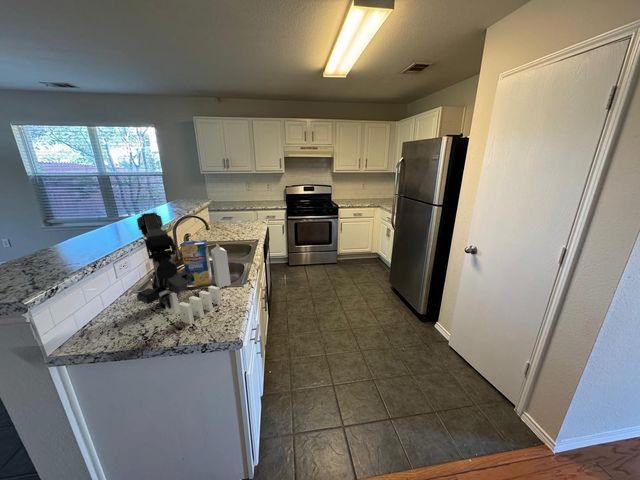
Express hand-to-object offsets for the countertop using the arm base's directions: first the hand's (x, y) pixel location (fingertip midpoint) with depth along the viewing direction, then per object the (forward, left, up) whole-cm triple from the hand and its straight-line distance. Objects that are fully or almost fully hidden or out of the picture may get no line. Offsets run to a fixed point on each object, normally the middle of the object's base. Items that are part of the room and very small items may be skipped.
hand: (172, 306), depth 95 cm
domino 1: (0, 0, -2) cm, 2 cm away
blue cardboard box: (-24, +33, -10) cm, 42 cm away
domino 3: (0, +10, -10) cm, 14 cm away
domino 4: (0, +15, -10) cm, 18 cm away
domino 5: (0, +20, -10) cm, 22 cm away
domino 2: (0, +5, -10) cm, 11 cm away
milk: (-10, +35, -10) cm, 38 cm away
